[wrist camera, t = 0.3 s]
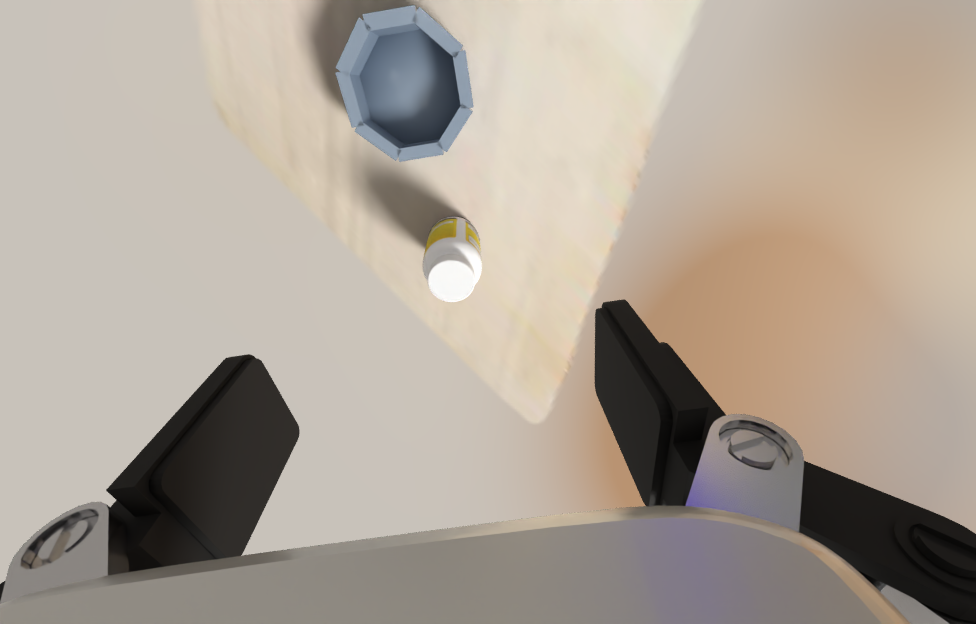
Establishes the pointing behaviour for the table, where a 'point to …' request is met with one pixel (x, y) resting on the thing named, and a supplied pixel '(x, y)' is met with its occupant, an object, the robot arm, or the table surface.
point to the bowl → (405, 83)
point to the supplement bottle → (452, 259)
